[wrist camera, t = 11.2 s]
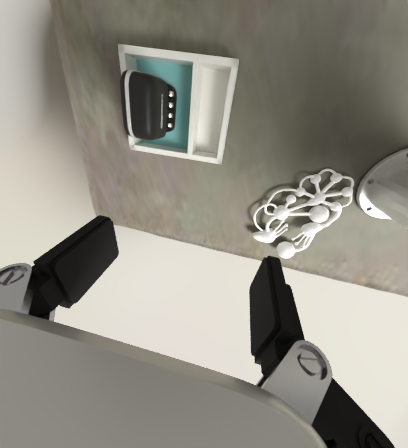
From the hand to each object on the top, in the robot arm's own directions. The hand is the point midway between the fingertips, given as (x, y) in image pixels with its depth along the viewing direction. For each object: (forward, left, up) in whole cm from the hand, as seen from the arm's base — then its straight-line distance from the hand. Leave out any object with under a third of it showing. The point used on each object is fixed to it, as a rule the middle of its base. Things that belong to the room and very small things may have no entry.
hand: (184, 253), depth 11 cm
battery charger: (+9, -6, -26) cm, 28 cm away
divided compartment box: (+7, -6, -26) cm, 28 cm away
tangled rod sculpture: (-17, +9, -27) cm, 33 cm away
